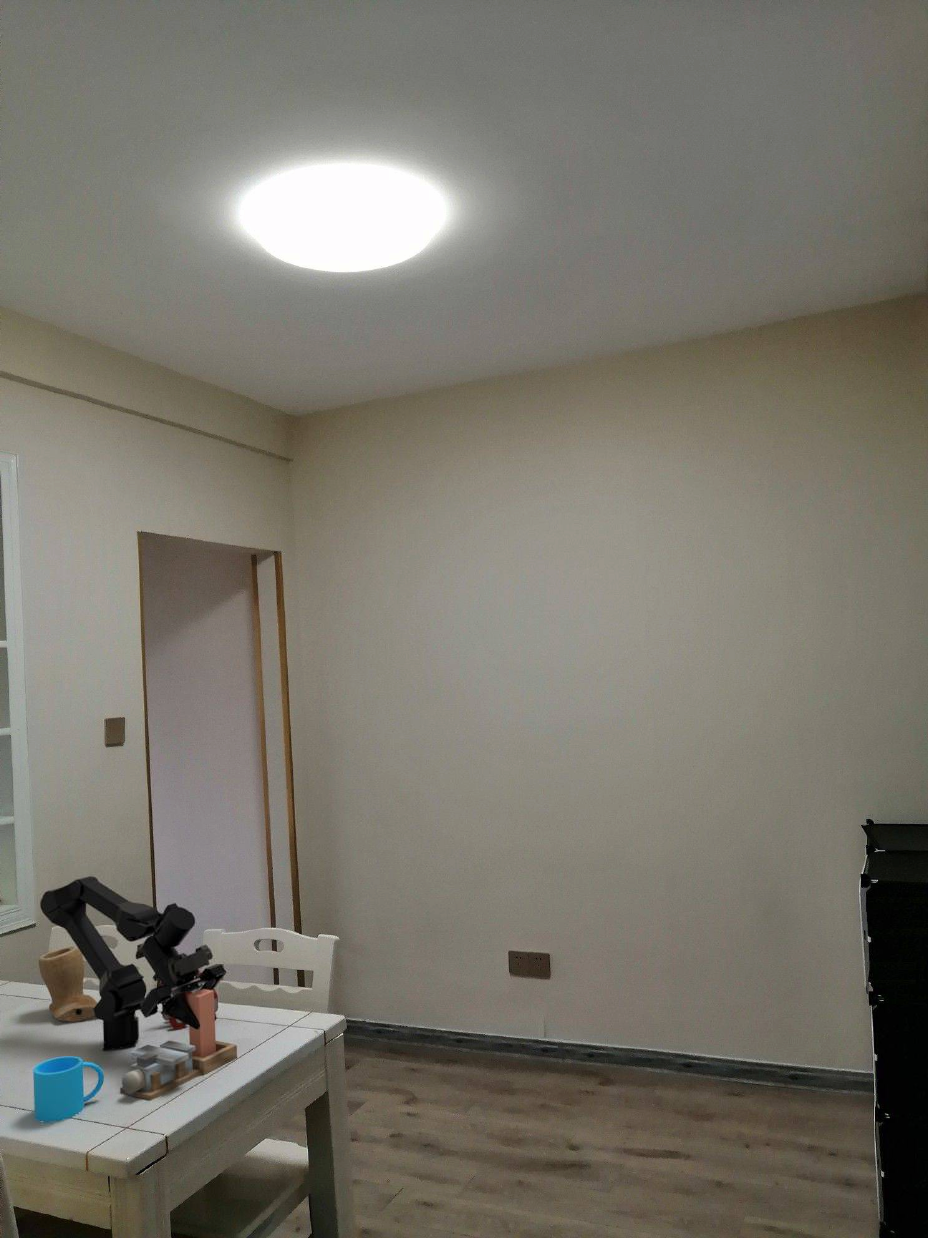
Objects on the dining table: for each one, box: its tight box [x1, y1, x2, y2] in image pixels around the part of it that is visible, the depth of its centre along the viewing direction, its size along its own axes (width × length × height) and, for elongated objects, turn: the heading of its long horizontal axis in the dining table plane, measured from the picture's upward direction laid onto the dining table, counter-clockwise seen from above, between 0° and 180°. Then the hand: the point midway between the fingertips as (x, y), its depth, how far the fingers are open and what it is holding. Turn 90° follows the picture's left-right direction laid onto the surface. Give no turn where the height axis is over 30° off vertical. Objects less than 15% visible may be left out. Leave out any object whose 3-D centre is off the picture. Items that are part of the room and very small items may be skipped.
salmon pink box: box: [188, 989, 217, 1058], centre depth 197 cm, size 3×4×12 cm
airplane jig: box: [119, 1040, 238, 1101], centre depth 191 cm, size 23×11×6 cm, turn 149°
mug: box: [32, 1055, 105, 1123], centre depth 178 cm, size 12×8×8 cm
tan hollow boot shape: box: [38, 945, 98, 1023], centre depth 229 cm, size 15×12×15 cm
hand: (207, 1024), depth 196 cm, fingers closed on salmon pink box, 4 cm apart
